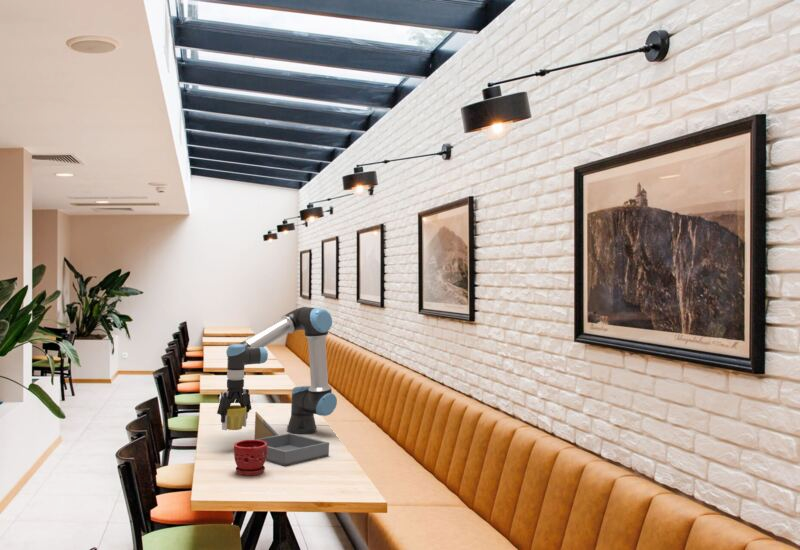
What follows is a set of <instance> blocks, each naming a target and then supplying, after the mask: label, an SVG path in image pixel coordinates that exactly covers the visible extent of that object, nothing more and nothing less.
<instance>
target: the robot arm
mask: <svg viewBox="0 0 800 550" xmlns="http://www.w3.org/2000/svg"><path fill="white" fill-rule="evenodd" d="M332 325H333V318H332V315H331V313H330V312H329V311H328V310H326V309H325V308H322V307H321V308H320V307H307V306H303V307H298V308H296V309H295V308H294V310H291V311H290V312H287V313H286V314H284V315H282V316H281V317H280V320H278V321H276V322H274V323H273V324H271V325H269V326H267V327H266V328H264V329H262V330H260V331H259V332H257V333H255V334H253V335H251V336H250V337H249V338H247V339H245V340H243V341H242V342H240V343H234V344H232V343H231V344H229V345H228V347H227V349H226V351H225V352H226V357H227V369H226V372H227V373H226V378H227V380H226V388H227V391H221V393H220V401H219V404H218V407H217V412H216V414H217V415H220V422H221V430H224V431H227V430H228V429H227V415H226V413H227V409H229V407H230V406H231V405H232V403H233V402H234V401H235V400H237V401H238V402H239V405H241V407H245V406H246V415H245V416H244V421H243V425H242V427H245V428H246V427H247V419H248V416H249V415H248V413H250V411H251V410H253V409H252V404H251V399H250V394H249V393H250V391H249V389H247V388H244V387H245V379H244V378H245V366H248V365H260V364H265V363H266V362H267V360H268V357H269V356H268V355H269V354H268V350H267V349H266V348H265V347H266V346H268V345H269V344H271V343H273V342H275V341H276V340H278V339H280V338H282V337H283V336H285V335H287V334H293V333H294V332H297V331H304V337H305V338H307V342H308V357H309V361H308V362H309V376H310V385H304V386H303V385H300V386H295V387H293V388H292V389H291V390H292V391H291V406H290V408H291V410H290V411H291V412H290V413H291V414H290V417H289V420H288V424H287V426H286V431H287V432H288V433H291V434H295V435H305V434H306V435H307V434H308V435H309V434H314V433H317V425H316V421H315V417H314V416H315V415H318V416H323V417H327V416H329V415H331V414H332V413H333V412H334V411H335V410H336V407H337V405H338V399H337V397H336V395H335V394H334V393H333V391H332V386H331V385H330V384H329V378H328V377H329V375H328V363H327V362H328V361H327V359H328V358H327V345H326V344H327V343H326V337H327V336H328V335H329V331H330V329H331V327H332Z"/></svg>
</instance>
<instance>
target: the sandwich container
mask: <svg viewBox="0 0 800 550" xmlns="http://www.w3.org/2000/svg"><path fill="white" fill-rule="evenodd" d="M254 417H255V419H254V437H253V438H254V439H253V440H255V439H260V438H266V437H271V436H276V435H279V434H278V432H277V431H275V429H274V428H273V427H271V425H270V424H269V423H268V422H267V421H266V420H265V419H264V418H263V417H262V416H261V415H260V414H259V413H258V412H257V411H255V416H254Z"/></svg>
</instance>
